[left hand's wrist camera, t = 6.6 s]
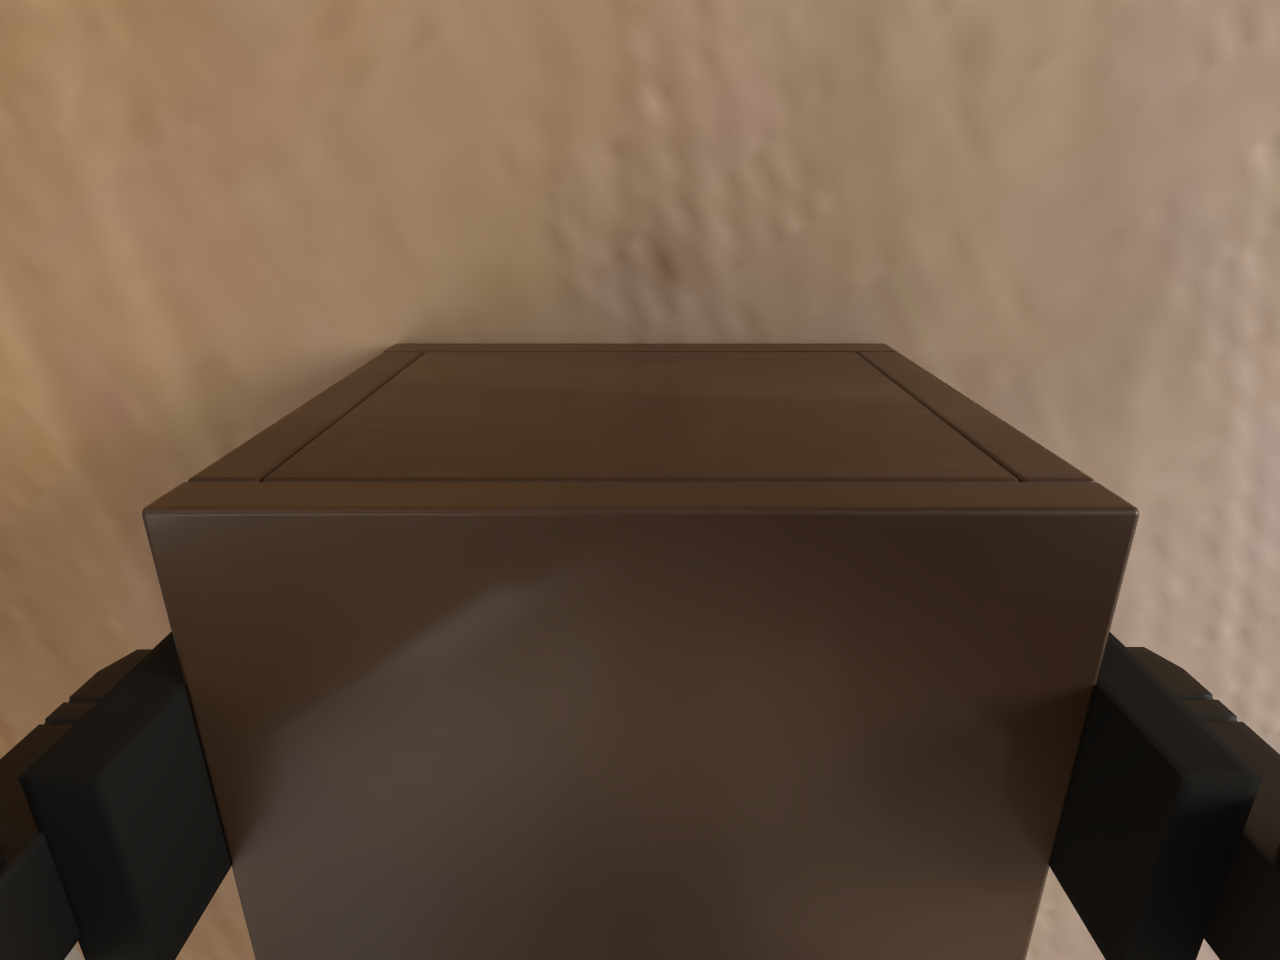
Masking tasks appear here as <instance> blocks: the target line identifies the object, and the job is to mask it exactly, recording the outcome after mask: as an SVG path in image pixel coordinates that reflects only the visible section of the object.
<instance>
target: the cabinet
mask: <svg viewBox="0 0 1280 960" xmlns="http://www.w3.org/2000/svg"><path fill="white" fill-rule="evenodd" d="M142 516H143V520H144V524H145V528H146V532H147V536H148V540H149V544H150V548H151V551H152V555H153V559H154V563H155V567H156V571H157V575H158V579H159V583H160V587H161V591H162V595H163V598H164V602H165V606H166V610H167V614H168V618H169V622H170V626H171V630H172V634H173V638H174V642H175V645H176V649H177V653H178V657H179V661H180V665H181V669H182V673H183V677H184V681H185V685H186V688H187V692H188V696H189V700H190V704H191V708H192V712H193V716H194V720H195V724H196V728H197V732H198V735H199V739H200V743H201V747H202V751H203V755H204V759H205V763H206V767H207V771H208V775H209V778H210V782H211V786H212V790H213V794H214V798H215V802H216V806H217V810H218V814H219V818H220V822H221V825H222V829H223V833H224V837H225V841H226V845H227V849H228V853H229V857H230V861H231V865H232V868H233V872H234V876H235V880H236V884H237V888H238V892H239V896H240V900H241V904H242V908H243V912H244V915H245V919H246V923H247V927H248V931H249V935H250V939H251V943H252V947H253V951H254V955H255V959H256V960H1025V959H1026V955H1027V951H1028V947H1029V943H1030V939H1031V935H1032V932H1033V928H1034V924H1035V920H1036V916H1037V912H1038V908H1039V904H1040V900H1041V896H1042V892H1043V889H1044V885H1045V881H1046V877H1047V873H1048V869H1049V865H1050V861H1051V857H1052V853H1053V849H1054V846H1055V842H1056V838H1057V834H1058V830H1059V826H1060V822H1061V818H1062V814H1063V810H1064V807H1065V803H1066V799H1067V795H1068V791H1069V787H1070V783H1071V779H1072V775H1073V771H1074V767H1075V764H1076V760H1077V756H1078V752H1079V748H1080V744H1081V740H1082V736H1083V732H1084V728H1085V725H1086V721H1087V717H1088V713H1089V709H1090V705H1091V701H1092V697H1093V693H1094V689H1095V685H1096V682H1097V678H1098V674H1099V670H1100V666H1101V662H1102V658H1103V654H1104V650H1105V646H1106V642H1107V639H1108V635H1109V631H1110V627H1111V623H1112V619H1113V615H1114V611H1115V607H1116V603H1117V600H1118V596H1119V592H1120V588H1121V584H1122V580H1123V576H1124V572H1125V568H1126V564H1127V560H1128V557H1129V553H1130V549H1131V545H1132V541H1133V537H1134V533H1135V529H1136V525H1137V521H1138V518H1139V511H1138V509H1137V508H1136V507H1134V506H1133V505H1131V504H1130V503H1128V502H1127V501H1125V500H1124V499H1122V498H1121V497H1119V496H1117V495H1116V494H1114V493H1113V492H1111V491H1110V490H1108V489H1107V488H1105V487H1104V486H1102V485H1101V484H1099V483H1096V482H1094V480H1093V479H1092V478H1091V477H1089V476H1088V475H1086V474H1084V473H1083V472H1081V471H1080V470H1078V469H1077V468H1075V467H1074V466H1072V465H1071V464H1069V463H1068V462H1066V461H1064V460H1063V459H1061V458H1060V457H1058V456H1057V455H1055V454H1054V453H1052V452H1051V451H1049V450H1048V449H1046V448H1044V447H1043V446H1041V445H1040V444H1038V443H1037V442H1035V441H1034V440H1032V439H1031V438H1029V437H1028V436H1026V435H1024V434H1023V433H1021V432H1020V431H1018V430H1017V429H1015V428H1014V427H1012V426H1011V425H1009V424H1008V423H1006V422H1004V421H1003V420H1001V419H1000V418H998V417H997V416H995V415H994V414H992V413H991V412H989V411H988V410H986V409H984V408H983V407H981V406H980V405H978V404H977V403H975V402H974V401H972V400H971V399H969V398H968V397H966V396H964V395H963V394H961V393H960V392H958V391H957V390H955V389H954V388H952V387H951V386H949V385H948V384H946V383H944V382H943V381H941V380H940V379H938V378H937V377H935V376H934V375H932V374H931V373H929V372H928V371H926V370H925V369H923V368H921V367H920V366H918V365H917V364H915V363H914V362H912V361H911V360H909V359H908V358H906V357H905V356H903V355H901V354H900V353H898V352H897V351H895V350H894V349H892V348H891V347H889V346H888V345H886V344H395V345H393V346H392V347H390V348H389V349H387V350H386V351H384V353H382V354H380V355H379V356H377V357H376V358H374V359H373V360H371V361H369V362H368V363H366V364H365V365H363V366H362V367H360V368H359V369H357V370H356V371H354V372H353V373H351V374H350V375H348V376H346V377H345V378H343V379H342V380H340V381H339V382H337V383H336V384H334V385H333V386H331V387H330V388H328V389H327V390H325V391H323V392H322V393H320V394H319V395H317V396H316V397H314V398H313V399H311V400H310V401H308V402H307V403H305V404H303V405H302V406H300V407H299V408H297V409H296V410H294V411H293V412H291V413H290V414H288V415H287V416H285V417H284V418H282V419H280V420H279V421H277V422H276V423H274V424H273V425H271V426H270V427H268V428H267V429H265V430H264V431H262V432H261V433H259V434H257V435H256V436H254V437H253V438H251V439H250V440H248V441H247V442H245V443H244V444H242V445H241V446H239V447H237V448H236V449H234V450H233V451H231V452H230V453H228V454H227V455H225V456H224V457H222V458H221V459H219V460H218V461H216V462H214V463H213V464H211V465H210V466H208V467H207V468H205V469H204V470H202V471H201V472H199V473H198V474H196V475H195V476H193V477H191V478H190V479H189V481H188V482H185V483H182V484H180V485H179V486H177V487H176V488H174V489H173V490H171V491H170V492H168V493H167V494H165V495H164V496H162V497H160V498H159V499H157V500H156V501H154V502H153V503H151V504H150V505H148V506H147V507H145V508H144V509H143V513H142Z"/></svg>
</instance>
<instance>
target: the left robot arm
mask: <svg viewBox="0 0 1280 960" xmlns="http://www.w3.org/2000/svg"><path fill="white" fill-rule="evenodd" d="M1236 718H1237V716H1236V715H1235V714H1233V713H1232V712H1231V711H1230V710H1229V709H1228V708H1227V707H1226V706H1224V705H1223V704H1222V703H1221V702H1220V701H1219V700H1213V698H1212V694H1211V693H1210V692H1209V691H1208V690H1206V689H1205V688H1204V687H1203V686H1202V685H1201V684H1200V683H1199V682H1197V681H1196V680H1195V679H1194V678H1193V677H1192V676H1191V675H1190V674H1188V673H1187V672H1186V671H1185V670H1184V669H1182V668H1181V667H1179V666H1177V665H1175V664H1173V663H1172V662H1170V661H1168V660H1166V659H1164V658H1163V657H1161V656H1159V655H1157V654H1155V653H1154V652H1152V651H1150V650H1148V649H1146V648H1145V647H1125V646H1124V645H1123V644H1122V643H1121V642H1120V641H1119V640H1118V639H1117V638H1115V637H1114V636H1113V635H1112V634H1111V633H1110V632H1109V635H1108V639H1107V642H1106V646H1105V650H1104V654H1103V658H1102V662H1101V666H1100V670H1099V674H1098V678H1097V682H1096V685H1095V689H1094V693H1093V697H1092V701H1091V705H1090V709H1089V713H1088V717H1087V721H1086V725H1085V728H1084V732H1083V736H1082V740H1081V744H1080V748H1079V752H1078V756H1077V760H1076V764H1075V767H1074V771H1073V775H1072V779H1071V783H1070V787H1069V791H1068V795H1067V799H1066V803H1065V807H1064V810H1063V814H1062V818H1061V822H1060V826H1059V830H1058V834H1057V838H1056V842H1055V846H1054V849H1053V853H1052V857H1051V861H1050V865H1049V866H1050V868H1051V869H1052V871H1053V873H1054V874H1055V876H1056V878H1057V879H1058V881H1059V883H1060V884H1061V886H1062V888H1063V889H1064V891H1065V893H1066V894H1067V896H1068V898H1069V899H1070V901H1071V903H1072V904H1073V906H1074V908H1075V909H1076V911H1077V913H1078V914H1079V916H1080V918H1081V919H1082V921H1083V923H1084V924H1085V926H1086V928H1087V929H1088V931H1089V933H1090V934H1091V936H1092V938H1093V939H1094V941H1095V943H1096V944H1097V946H1098V948H1099V949H1100V951H1101V953H1102V954H1103V956H1104V958H1105V959H1106V960H1196V958H1197V955H1198V952H1199V950H1200V947H1201V944H1202V942H1203V939H1205V940H1206V941H1207V943H1208V944H1209V945H1210V947H1211V948H1212V949H1213V951H1214V952H1215V953H1216V955H1217V956H1218V957H1219V959H1220V960H1280V755H1279V754H1278V753H1277V752H1276V751H1275V750H1274V749H1273V748H1272V747H1270V746H1269V745H1268V744H1267V743H1266V742H1265V741H1264V740H1263V739H1261V738H1260V737H1259V736H1258V735H1257V734H1256V733H1255V732H1254V731H1253V730H1251V729H1250V728H1249V727H1248V726H1247V725H1246V724H1245V723H1244V722H1238V721H1237V719H1236ZM45 720H46V721H45V724H44V725H38V726H37V727H36V728H35V729H34V730H33V731H31V732H30V733H29V734H28V735H27V736H26V737H25V738H24V739H23V740H21V741H20V742H19V743H18V744H17V745H16V746H15V747H14V748H12V749H11V750H10V751H9V752H8V753H7V754H6V755H5V756H4V757H2V758H1V759H0V960H64V959H65V957H66V956H67V955H68V954H69V952H70V951H71V949H72V948H73V947H74V945H75V944H76V943H77V941H79V944H80V947H81V950H82V952H83V955H84V958H85V960H175V959H176V957H177V956H178V954H179V952H180V951H181V949H182V947H183V946H184V944H185V942H186V941H187V939H188V937H189V936H190V934H191V932H192V931H193V929H194V927H195V926H196V924H197V922H198V921H199V919H200V917H201V916H202V914H203V912H204V911H205V909H206V907H207V906H208V904H209V902H210V901H211V899H212V897H213V896H214V894H215V892H216V891H217V889H218V887H219V886H220V884H221V882H222V881H223V879H224V877H225V876H226V874H227V872H228V871H229V869H230V867H231V866H232V865H231V861H230V857H229V853H228V849H227V845H226V841H225V837H224V833H223V829H222V825H221V822H220V818H219V814H218V810H217V806H216V802H215V798H214V794H213V790H212V786H211V782H210V778H209V775H208V771H207V767H206V763H205V759H204V755H203V751H202V747H201V743H200V739H199V735H198V732H197V728H196V724H195V720H194V716H193V712H192V708H191V704H190V700H189V696H188V692H187V688H186V685H185V681H184V677H183V673H182V669H181V665H180V661H179V657H178V653H177V649H176V645H175V642H174V638H173V634H172V632H171V633H170V634H169V635H167V636H166V637H165V638H164V639H163V640H162V641H161V642H160V643H159V644H158V645H157V646H156V647H155V648H154V649H153V650H136V651H134V652H132V653H131V654H129V655H127V656H125V657H123V658H122V659H120V660H118V661H116V662H115V663H113V664H111V665H109V666H107V667H106V668H104V669H102V670H100V671H98V672H97V673H96V674H95V675H94V676H93V677H92V678H91V679H89V680H88V681H87V682H86V683H85V684H84V685H83V686H82V687H81V688H79V689H78V690H77V691H76V692H75V693H74V694H73V695H72V696H70V700H69V702H68V703H63V704H62V705H60V706H59V707H58V708H57V709H56V710H55V711H54V712H53V713H52V714H50V715H49V716H48V717H47V718H46V719H45Z"/></svg>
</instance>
